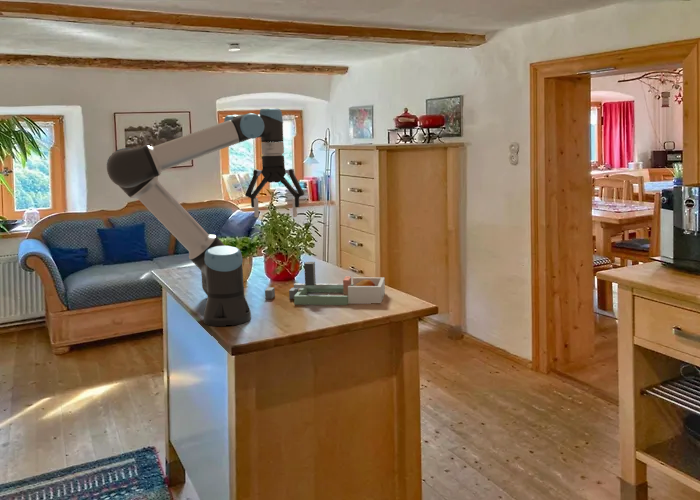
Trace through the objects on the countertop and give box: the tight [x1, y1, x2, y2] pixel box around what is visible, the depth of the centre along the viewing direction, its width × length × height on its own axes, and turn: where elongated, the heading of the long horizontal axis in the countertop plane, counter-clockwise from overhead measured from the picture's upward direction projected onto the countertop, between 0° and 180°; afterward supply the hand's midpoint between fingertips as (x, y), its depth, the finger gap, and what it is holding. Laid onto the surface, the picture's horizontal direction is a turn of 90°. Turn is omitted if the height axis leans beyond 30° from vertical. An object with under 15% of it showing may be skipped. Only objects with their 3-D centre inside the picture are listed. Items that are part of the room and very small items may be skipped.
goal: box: [348, 276, 386, 305], centre depth 228 cm, size 12×14×6 cm
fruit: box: [355, 280, 375, 286], centre depth 228 cm, size 8×8×8 cm
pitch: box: [264, 283, 353, 306], centre depth 231 cm, size 31×18×3 cm, turn 82°
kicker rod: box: [293, 261, 352, 296], centre depth 230 cm, size 20×6×12 cm, turn 82°
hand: (275, 217), depth 221 cm, fingers open, 13 cm apart
